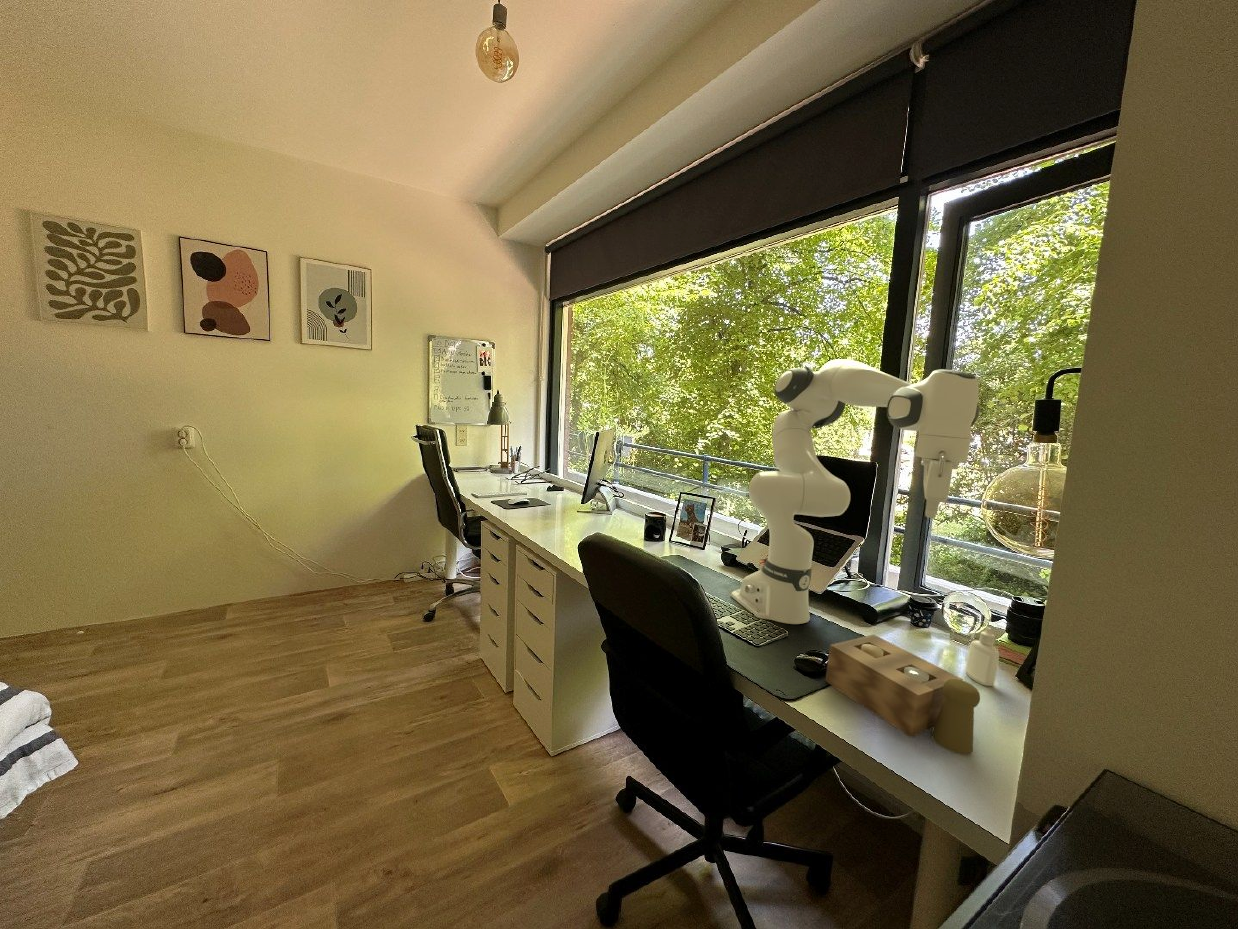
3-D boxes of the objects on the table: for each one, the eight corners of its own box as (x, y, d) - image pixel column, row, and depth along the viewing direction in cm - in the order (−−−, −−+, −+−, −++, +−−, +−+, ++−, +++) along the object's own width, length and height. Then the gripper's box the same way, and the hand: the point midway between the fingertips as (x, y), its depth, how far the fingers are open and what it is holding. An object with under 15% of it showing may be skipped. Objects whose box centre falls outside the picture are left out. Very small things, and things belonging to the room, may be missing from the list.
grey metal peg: (893, 706, 92) (899, 669, 91) (905, 702, 94) (912, 665, 93) (914, 719, 88) (921, 680, 87) (926, 714, 90) (933, 676, 89)
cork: (974, 743, 84) (986, 685, 83) (970, 760, 79) (983, 699, 78) (934, 725, 88) (944, 669, 86) (928, 741, 83) (939, 682, 82)
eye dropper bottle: (970, 682, 104) (980, 630, 102) (963, 670, 109) (973, 620, 107) (995, 689, 102) (1005, 636, 101) (987, 676, 107) (997, 625, 106)
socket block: (825, 681, 100) (830, 644, 99) (868, 668, 106) (873, 634, 105) (911, 737, 84) (918, 695, 83) (955, 718, 91) (962, 679, 90)
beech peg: (851, 681, 100) (857, 645, 99) (864, 677, 102) (869, 642, 101) (869, 692, 96) (875, 655, 95) (881, 687, 98) (887, 652, 97)
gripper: (964, 455, 87) (951, 529, 89) (957, 449, 104) (945, 511, 106) (924, 451, 90) (911, 522, 92) (923, 446, 108) (912, 506, 109)
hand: (930, 516), depth 99 cm, fingers closed
